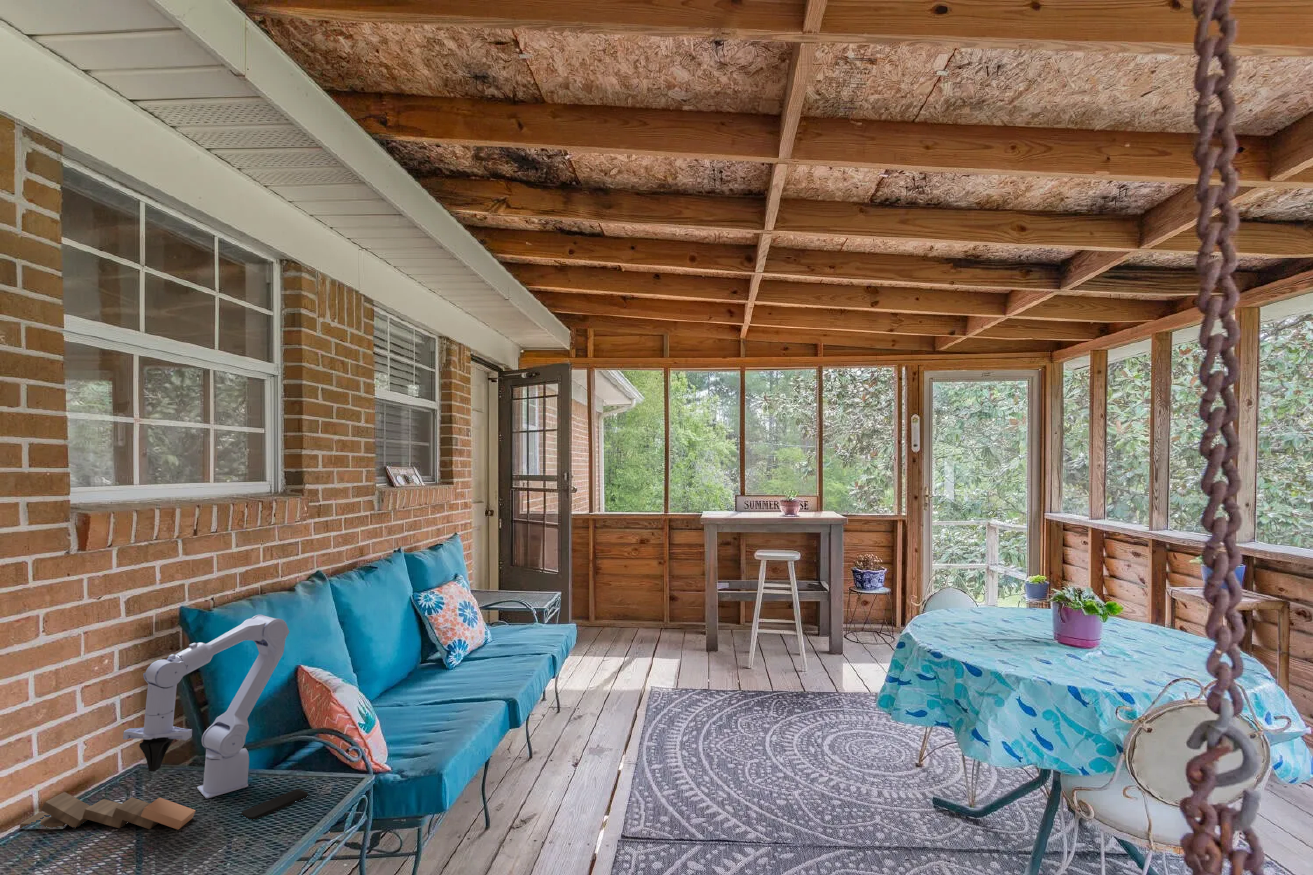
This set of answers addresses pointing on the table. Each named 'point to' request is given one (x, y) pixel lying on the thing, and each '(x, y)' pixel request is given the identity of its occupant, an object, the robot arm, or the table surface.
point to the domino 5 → (168, 813)
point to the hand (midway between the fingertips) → (154, 769)
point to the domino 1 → (43, 820)
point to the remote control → (274, 804)
